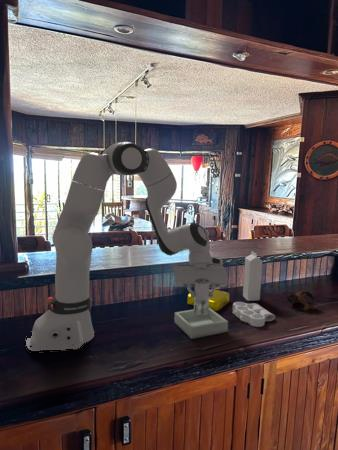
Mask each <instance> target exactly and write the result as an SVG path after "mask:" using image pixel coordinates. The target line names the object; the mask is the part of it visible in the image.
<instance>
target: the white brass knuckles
mask: <svg viewBox="0 0 338 450" xmlns="http://www.w3.org/2000/svg"><path fill="white" fill-rule="evenodd" d="M232 314H234V316H235V317H236V318H239V319H240V321H242V322H243V323H248V324H249V325H250V326H252V327H256V328H257V327H258V328H260V327H263V326H265V324H266V323H265V322H272V321H274V320H275V319H276V316H275V314H273V313H271V312H270V311H269V310H267V309H265V308H264V307H263V306H261V305H260V304H258V303H254V302H253V303H246V302H245V301H243V302H242V301H235V302H233V304H232Z"/></svg>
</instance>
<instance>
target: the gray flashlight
mask: <svg viewBox="0 0 338 450" xmlns="http://www.w3.org/2000/svg"><path fill="white" fill-rule="evenodd" d="M209 288H211V287H210V281H209V280H207V279H197V280H195V287H194V290H193V291H194V292H195V293H194V294H195V296H194V306H193V310H194V313H195V314H197V315H207V314H208V313H209Z"/></svg>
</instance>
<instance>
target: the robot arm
mask: <svg viewBox="0 0 338 450" xmlns="http://www.w3.org/2000/svg"><path fill="white" fill-rule="evenodd" d="M159 151H160V150H159ZM159 151H158V150H157V149H155V148H151V147H150V148H145V149H144V148H142V147H141V146H139V145H138V144H137V143H134V142H131V141H120V142H119V141H118V142H115V143H113V144H109V145H107V147H105V148H104V149H103V150H102V151H101V152H100V153H98V152H87V153H85V154H84V155H82V157H81V159H80V161H79V162H78V164H77V166H76V169H75V170H74V173H73V175H72V180H71V183H70V186H69V189H68V193H67V195H66V200H65V203H64V205H63V208H62V210H61V212H60V215H59V218H58V220H57V222H56V225H55V227H54V230H53V234H52V238H51V239H52V244H53V246H54V248H55V254H56V256H55V275H54V280H55V281H54V285H55V297H54V298H53V296H49V297H47V299H46V301H47V304H48V305H49V307H48V308H49V309H48V310H47V311H46V312H45V313H43V314H42V315H40V317H38V318H37V319H36V320H34V321H35V322H34V324H33V326H32V331H31V332H32V336H31V338H27V340H26V339H25V341H26V345H25V347H26V346H27V348H28V349H29V350H31V351H40V350H41V351H42V350H61V351H67V350H66V349H73V350H79V349H81V348H82V347H83V346H84V345H85V344H87V343H88V342H90V341H92V339H93V338H94V337H95V335H94V333H95V330H94V327H93V323H92V317H91V310H92V297H91V295H90V269H91V263H92V262H91V261H92V252H93V241H92V239H91V236H90V235H89V232H90V229H91V227H92V224H93V222H94V220H95V219H96V217H97V216H98V215H99V212H100V208H101V204H102V201H103V198H104V195H105V191H106V188H107V183H108V181H109V179H110V178H111V177H112V176H113V175H117V176H133V175H137V176H138V177H139V178H140V179H141V181H142V183H143V184H144V186H145V189H146V192H147V193H146V195H147V197H146V198H145V201H144V202H145V207H146V211H147V214H148V217H149V220H150V223H151V225H152V228H153V231H154V233H155V236H156V240H157V244H158V248H159V250H160V252H162V253H163V254H165V255H167V256H174V255H176V254H178V253H181V252H183V251H188V252H189V253H188V263H187V262H186V263H179V262H178V263H177V264H175V265H174V266H173V273H174V285H175V287H183V288H184V287H185V288H187V291H188V293H189V294H190V297H194V296H195V294H194V293H195V292H194V290H192V288H193V287H194V288H195V280H197V279H207V280H209V281H210V288H211V289H212V291H209V297H213V292H214V290H216V288H226V287H227V285H228V282H229V278H228V273H227V270H226V268H225V266H223V265H224V261H223V259H221V258H218V257H215V256H211V253H210V250H211V244H210V238H209V234H208V230H207V229H206V228H205V227H204V226H201V225H200V224H198V223H196V222H194V221H192V222H188V223H186V224H182V225H180V226H176V227H173V228H168V227H167V225H166V221H165V220H164V219H165V218H164V217H163V214H162V208H163V207H164V206H165V205H166V204H167V203H168V202H169V201H170V200H171V199H172V198H173V197H174V195H175V193H176V191H177V188H178V186H177V185H178V183H177V179H176V177H175V175H174V173H173V171H172V169H171V167H170V166H169V164H168V163H167V160H166V159H165V158H164V156H163V155H162V153H161V152H159ZM86 342H87V343H86ZM84 343H85V344H84ZM83 344H84V345H83ZM82 345H83V346H82ZM30 346H32V347H30ZM81 346H82V347H81ZM80 347H81V348H80ZM27 348H26V349H27ZM78 348H79V349H78Z"/></svg>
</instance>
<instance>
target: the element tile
mask: <svg viewBox="0 0 338 450" xmlns="http://www.w3.org/2000/svg"><path fill="white" fill-rule="evenodd" d="M209 291H212V290H210V289H209ZM229 303H230V293H229V292H227V291H224V290H219V289H215V290H214V292H213V297H209V308H210V309H212V310H213V311H214V312H218V311H219V310H221V309H222V308H223V307H225V306H227V304H229ZM187 305H190V306H193V307H194V297H190V293H188V294H187Z"/></svg>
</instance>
